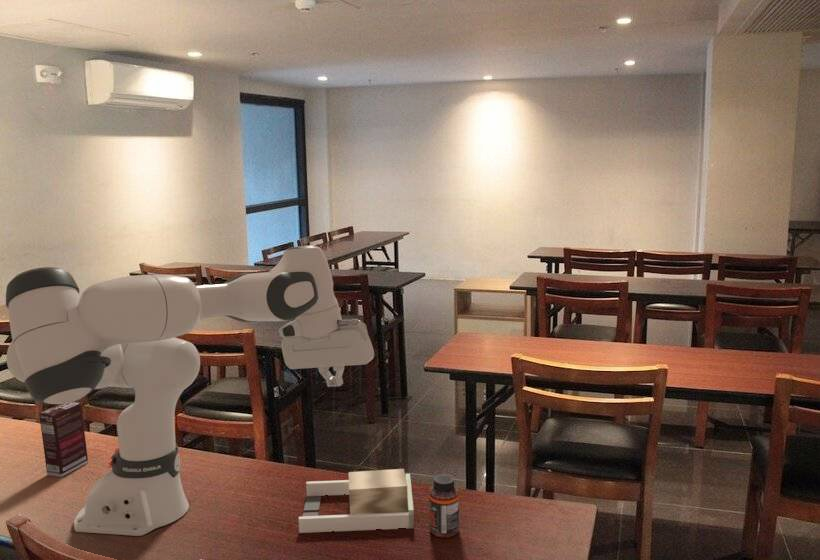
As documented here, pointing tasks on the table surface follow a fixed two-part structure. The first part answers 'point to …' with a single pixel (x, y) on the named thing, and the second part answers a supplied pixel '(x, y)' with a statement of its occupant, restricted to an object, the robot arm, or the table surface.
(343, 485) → the box
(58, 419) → the supplement box
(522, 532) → the table surface
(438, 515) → the supplement bottle
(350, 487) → the birch block
